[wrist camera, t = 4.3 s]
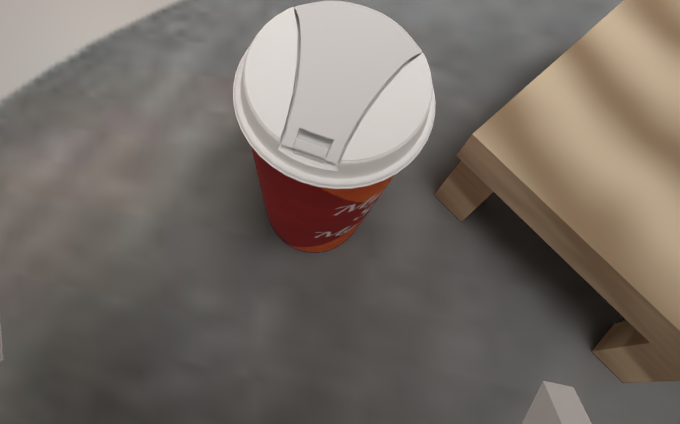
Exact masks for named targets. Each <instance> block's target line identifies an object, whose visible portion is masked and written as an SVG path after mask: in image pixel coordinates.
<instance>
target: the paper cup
mask: <svg viewBox="0 0 680 424" xmlns="http://www.w3.org/2000/svg"><path fill="white" fill-rule="evenodd" d="M421 53H422V50H421V49H420V48H419V47H418V45H417V44H416V43H415V42H414V40H413V39H412V38H411V37H410V36H409V34H408V33H407V32H406V31H405V30H404V29H403V28H402V27H401V26H400V25H399V24H397V23H396V22H395V21H394V20H392V19H391V18H389V17H387V16H386V15H384V14H382V13H380V12H378V11H376V10H373V9H371V8H368V7H365V6H362V5H358V4H355V3H349V2H344V1H322V2H315V3H309V4H304V5H299V6H295V10H294V7H292V8H289V9H287V10H285V11H284V12H282V13H280V14H279V15H277V16H276V17H274V18H273V19H272V20H271V21H269V22H268V23H267V24H266V25H265V26H264V27H263V28H262V29H261V30H260V32H259V33H258V34H257V35H256V37H255V38H254V40H253V42H252V43H251V45H250V47H249V48H248V49H247V51H246V52H245V54H244V56H243V57H242V59H241V61H240V63H239V66H238V68H237V71H236V74H235V80H234V85H233V103H234V109H235V114H236V118H237V121H238V123H239V126H240V128H241V131H242V133H243V134H244V136H245V138H246V139H247V141H248V143H249V144H250V145H251V147H252V151H253V155H254V160H255V164H256V169H257V173H258V177H259V182H260V186H261V190H262V194H263V198H264V202H265V206H266V210H267V214H268V217H269V220H270V222H271V225H272V227H273V229H274V230H275V232H276V233H277V235H278V236H279V237H280V238H281V239H282V240H283V241H284V242H286V243H287V244H288V245H290V246H292V247H294V248H296V249H298V250H302V251H306V252H323V251H328V250H331V249H333V248H335V247H337V246H339V245H341V244H342V243H343V242H345V241H346V240H347V239H348V238H349V237H350V236H351V235H352V234H353V232H354V231H355V230H356V229H357V227H358V226H359V224H360V223H361V222H362V220H363V219H364V218H365V216H366V215H367V213H368V212H369V211H370V209H371V208H372V206H373V205H374V203H375V202H376V201H377V199H378V198H379V196H380V195H381V193H382V192H383V190H384V189H385V188H386V186H387V185H388V183H389V182H390V180H391V179H392V177H393V176H394V175H395V174H397V173H398V172H400V171H401V170H402V169H404V168H405V167H406V166H408V165H409V164H410V163H411V162H412V161H413V160H414V158H415V157H416V156H417V155H418V154H419V153H420V151H421V150H422V148H423V147H424V145H425V143H426V142H427V140H428V137H429V135H430V132H431V130H432V127H433V122H434V117H435V95H434V88H433V85H432V78H431V72H430V69H429V65H428V62H427V59H426V57H425V55H424V53H422V54H421Z"/></svg>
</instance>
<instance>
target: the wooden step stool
mask: <svg viewBox="0 0 680 424" xmlns="http://www.w3.org/2000/svg"><path fill="white" fill-rule="evenodd" d="M456 156H457V157H458V158H459V159H460V160H461V161H460V162H459V163H458V165H457V166H456V167H455V169H454V170H453V171H452V172H451V174H450V175H449V176H448V178H447V179H446V180H445V181H444V183H443V184H442V185H441V187H440V188H439V189H438V190H437V192H436V193H435V194H434V195H435V196H436V197H437V198H438V199H439V200H440V201H441V202H442V203H443V204H444V205H445V206H446V207H447V208H448V209H449V210H450V211H451V212H452V213H453V214H454V215H455V216H456V217H457V218H458V219H459V220H460V221H461V222H462V221H463V220H464V219H465V218H466V217H467V216H468V215H470V214H471V213H472V212H473V211H474V210H475V209H476V208H477V207H478V206H479V205H480V204H481V203H482V202H483V201H484V200H485V199H486V198H487V197H488V196H490V195H491V194H492V193H493V192H494V193H496V194H497V195H498V196H499V197H500V198H501V199H502V200H503V201H504V202H505V203H506V204H507V205H508V206H509V207H510V208H511V209H512V210H513V211H514V212H515V213H516V214H517V215H518V216H519V217H520V218H521V219H522V220H523V221H524V222H526V223H527V224H528V225H529V226H530V227H531V228H532V229H533V230H534V231H535V232H536V233H537V234H538V235H539V236H540V237H541V238H542V239H543V240H544V241H545V242H546V243H547V244H548V245H549V246H550V247H551V248H552V249H553V250H554V251H556V252H557V253H558V254H559V255H560V256H561V257H562V258H563V259H564V260H565V261H566V262H567V263H568V264H569V265H570V266H571V267H572V268H573V269H574V270H575V271H576V272H577V273H578V274H579V275H580V276H581V277H582V278H583V279H585V280H586V281H587V282H588V283H589V284H590V285H591V286H592V287H593V288H594V289H595V290H596V291H597V292H598V293H599V294H600V295H601V296H602V297H603V298H604V299H605V300H606V301H607V302H608V303H609V304H610V305H611V306H612V307H613V308H615V309H616V310H617V311H618V312H619V313H620V314H621V315H622V316H623V317H624V318H625V319H626V320H627V321H624V322H619V323H615V324H614V325H613V326H612V327H611V328H610V330H609V331H608V332H607V333H606V334H605V336H604V337H603V338H602V339H601V341H600V342H599V343H598V344H597V345H596V347H595V348H594V349H593V350H592V352H593V353H594V354H595V355H596V356H597V357H598V358H599V359H600V360H601V361H602V362H603V363H604V364H605V365H606V366H607V367H608V368H609V369H610V370H611V371H612V372H613V373H614V374H615V375H616V376H617V377H618V378H619V379H620V380H621V381H622V382H623V383H632V382H656V381H680V0H624V1H622V2H621V3H620V4H619V5H618V6H617V7H616V8H614V9H613V10H612V11H611V12H610V13H609V14H608V15H607V16H605V17H604V18H603V19H602V20H601V21H600V22H599V23H597V24H596V25H595V26H594V27H593V28H592V29H591V30H590V31H588V32H587V33H586V34H585V35H584V36H583V37H582V38H580V39H579V40H578V41H577V42H576V43H575V44H574V45H573V46H571V47H570V48H569V49H568V50H567V51H566V52H565V53H563V54H562V55H561V56H560V57H559V58H558V59H557V60H556V61H554V62H553V63H552V64H551V65H550V66H549V67H548V68H546V69H545V70H544V71H543V72H542V73H541V74H540V75H539V76H537V77H536V78H535V79H534V80H533V81H532V82H531V83H529V84H528V85H527V86H526V87H525V88H524V89H523V90H522V91H520V92H519V93H518V94H517V95H516V96H515V97H514V98H512V99H511V100H510V101H509V102H508V103H507V104H506V105H505V106H503V107H502V108H501V109H500V110H499V111H498V112H497V113H495V114H494V115H493V116H492V117H491V118H490V119H489V120H488V121H486V122H485V123H484V124H483V125H482V126H481V127H480V128H478V129H477V130H476V131H475V132H474V133H473V134H472V135H471V136H470V138H469V139H468V140H467V142H466V143H465V144H464V146H463V147H462V148H461V150H460V151H459V153H458V154H457V155H456Z"/></svg>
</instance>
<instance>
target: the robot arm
mask: <svg viewBox="0 0 680 424" xmlns="http://www.w3.org/2000/svg"><path fill="white" fill-rule="evenodd" d="M2 360H3V349H2V335H1V321H0V363H1V362H2ZM522 424H592V423H591V421H590V419H589V417H588V415H587V413H586V411H585V409H584V407H583V405H582V403H581V401H580V399H579V397H578V395H577V393H576V391H575V389H574V387H571V386H566V385H561V384H556V383H551V382H547V381H543V382H542V384H541V386H540V388H539V390H538V392H537V394H536V396H535V398H534V400H533V402H532V404H531V406H530V408H529V410H528V412H527V414H526V416H525V418H524V420H523V422H522Z"/></svg>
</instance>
